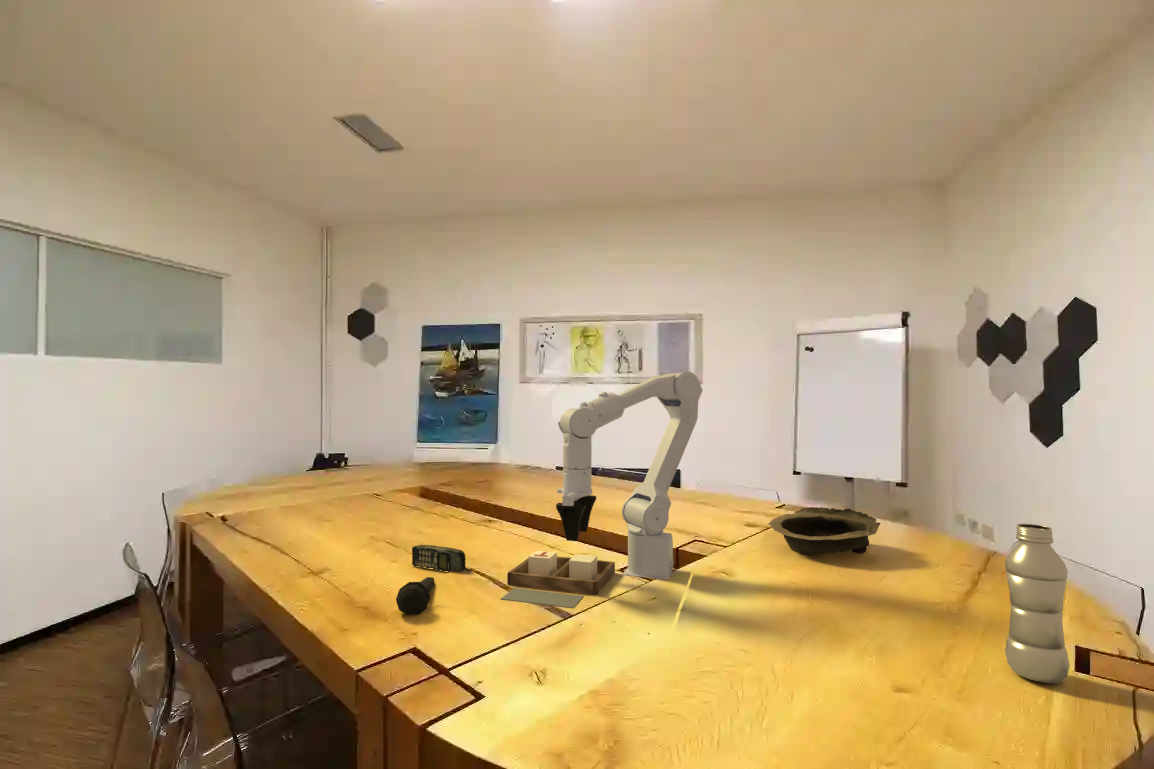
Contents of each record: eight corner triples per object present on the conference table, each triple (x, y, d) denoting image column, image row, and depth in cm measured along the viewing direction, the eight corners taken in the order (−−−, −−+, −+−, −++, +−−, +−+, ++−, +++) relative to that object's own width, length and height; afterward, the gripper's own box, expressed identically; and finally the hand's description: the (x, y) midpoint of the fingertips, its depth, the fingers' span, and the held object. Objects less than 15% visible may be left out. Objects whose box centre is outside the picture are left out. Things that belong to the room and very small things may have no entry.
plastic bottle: (993, 666, 76) (990, 521, 76) (1038, 664, 76) (1035, 520, 77) (1035, 691, 69) (1032, 533, 70) (1084, 689, 70) (1081, 532, 70)
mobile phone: (409, 545, 121) (465, 551, 115) (418, 542, 124) (473, 548, 118) (409, 568, 121) (465, 575, 115) (419, 564, 124) (474, 571, 118)
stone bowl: (883, 545, 138) (883, 509, 137) (876, 581, 117) (876, 538, 116) (781, 531, 151) (780, 497, 151) (758, 560, 130) (757, 522, 129)
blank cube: (597, 578, 112) (597, 556, 112) (591, 585, 107) (590, 562, 108) (576, 576, 113) (576, 554, 113) (569, 583, 109) (569, 560, 109)
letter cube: (556, 574, 114) (556, 551, 115) (549, 580, 110) (549, 557, 110) (536, 572, 116) (536, 550, 116) (528, 578, 112) (528, 555, 112)
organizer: (614, 575, 115) (614, 561, 115) (597, 597, 102) (597, 582, 102) (533, 566, 121) (533, 554, 121) (507, 587, 108) (507, 572, 108)
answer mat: (583, 599, 102) (583, 595, 102) (573, 611, 96) (573, 607, 96) (514, 590, 106) (514, 587, 106) (500, 601, 100) (500, 598, 100)
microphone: (423, 597, 112) (398, 625, 92) (415, 569, 112) (388, 591, 92) (449, 588, 112) (430, 613, 92) (441, 560, 113) (420, 580, 93)
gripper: (567, 463, 118) (567, 526, 118) (547, 471, 104) (546, 543, 104) (599, 464, 117) (599, 528, 116) (583, 473, 103) (582, 546, 102)
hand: (576, 535), depth 110 cm, fingers open, 7 cm apart
